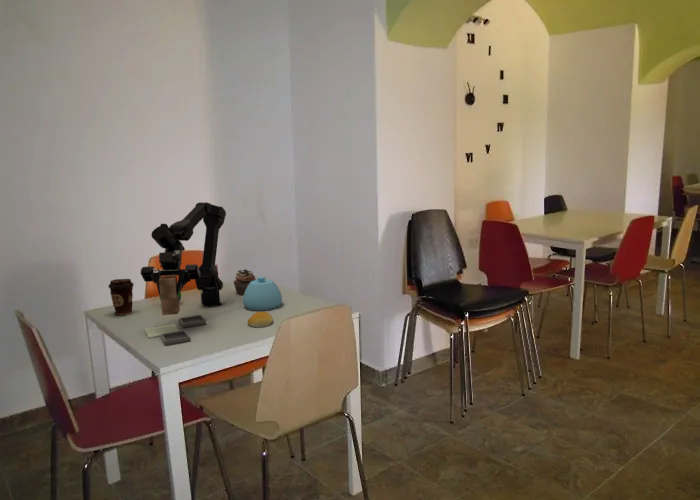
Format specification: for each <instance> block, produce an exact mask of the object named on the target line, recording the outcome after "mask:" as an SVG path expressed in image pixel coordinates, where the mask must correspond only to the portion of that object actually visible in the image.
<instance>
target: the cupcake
mask: <svg viewBox="0 0 700 500" xmlns="http://www.w3.org/2000/svg"><path fill="white" fill-rule="evenodd" d="M235 275H236V276H235V280H234V281H233V284H234V288H235V291H236V292H235V293H236V294H237V295H238V294H239V295H238V296H244V293H245V291H246V289H247V287H248V285H249V283H250V282H251V281H254V280H257V279H256V276H255V275H254V272H253V271H251V270H248V269H247V268H245V269H242V270H241V269H240V270H237V272H235Z"/></svg>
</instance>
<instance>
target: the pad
mask: <svg viewBox="0 0 700 500" xmlns="http://www.w3.org/2000/svg"><path fill="white" fill-rule="evenodd" d="M176 331H180V330H179V328H178V327H177V325H176V324H175V323H171V324H165V325H159V326H152V327H147V328H144V332H145V334H146V335H147V338H148V339H153V338H159V337H160V338H161V334H164V333H170V332H176Z"/></svg>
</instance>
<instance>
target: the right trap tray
mask: <svg viewBox="0 0 700 500" xmlns="http://www.w3.org/2000/svg"><path fill="white" fill-rule="evenodd" d="M177 320H178V323H179V324H180V326H181V327H182V329H187V328H192V327H193V328H194V327H200V326H205V325H207V319H206V318H205V317H203V315H202V314H197V315H189V316H183V317H178V318H177Z"/></svg>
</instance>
